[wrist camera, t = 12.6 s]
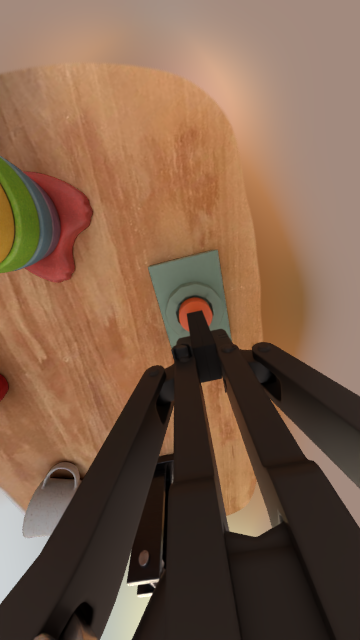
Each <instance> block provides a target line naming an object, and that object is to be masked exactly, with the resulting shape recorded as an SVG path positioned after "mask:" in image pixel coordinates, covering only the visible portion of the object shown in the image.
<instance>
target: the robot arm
mask: <svg viewBox="0 0 360 640" xmlns="http://www.w3.org/2000/svg"><path fill="white" fill-rule="evenodd" d="M187 320H188V326H189V332H190V336H187V337H183V338H179V339H178V340H177V342H176V345H175V346H174V347H173V348H172V350H171V351H172V354H173V358H174V364H173V365H172V366H170V367H168V368H166V369H164V368H163V367H162V366H159V365H157V366H152V367H150V368H149V369H147V370H146V371H145V372H144V374H143V376H142V378H141V379H140V381H139V383H138V385H137V386H136V388H135V390H134V392H133V393H132V395H131V397H130V398H129V400H128V402H127V404H126V405H125V407H124V409H123V411H122V412H121V414H120V416H119V418H118V419H117V421H116V423H115V425H114V426H113V428H112V430H111V432H110V433H109V435H108V437H107V438H106V440H105V442H104V444H103V445H102V447H101V449H100V451H99V452H98V454H97V456H96V458H95V459H94V461H93V463H92V465H91V466H90V468H89V470H88V472H87V473H86V475H85V477H84V478H83V480H82V482H81V484H80V485H79V487H78V489H77V491H76V492H75V494H74V496H73V498H72V499H71V501H70V503H69V505H68V506H67V508H66V510H65V512H64V513H63V515H62V517H61V518H60V520H59V522H58V524H57V525H56V527H55V529H54V531H53V532H52V534H51V536H50V538H49V539H48V541H47V543H46V545H45V546H44V548H43V550H42V552H41V553H40V555H39V556H38V557H37V559H36V560H35V561H34V563H33V564H32V565H31V566H30V567H29V569H28V570H27V571H26V573H25V574H24V575H23V576H22V578H21V579H20V580H19V581H18V583H17V584H16V585H15V586H14V588H13V589H12V590H11V591H10V593H9V594H8V595H7V597H6V598H5V599H4V600H3V601H2V603H1V604H0V640H100V638H101V636H102V634H103V631H104V629H105V626H106V624H107V621H108V619H109V616H110V614H111V611H112V609H113V606H114V604H115V601H116V598H117V595H118V592H119V589H120V586H121V582H122V580H123V576H124V573H125V570H126V566H127V563H128V560H129V556H130V553H131V549H132V546H133V543H134V539H135V536H136V532H137V529H138V526H139V522H140V519H141V515H142V512H143V509H144V505H145V502H146V498H147V495H148V491H149V488H150V485H151V481H152V478H153V474H154V471H155V468H156V464H157V461H158V457H159V454H160V451H161V447H162V444H163V440H164V437H165V434H166V430H167V427H168V423H169V420H170V416H171V413H172V410H173V406H174V470H173V483H172V484H171V485H170V488H169V495H168V523H167V558H166V569H165V571H164V572H163V574H162V576H161V577H160V579H159V581H158V583H157V585H156V587H155V589H154V591H153V593H152V596H151V598H150V600H149V602H148V605H147V607H146V609H145V611H144V614H143V616H142V618H141V620H140V623H139V625H138V627H137V629H136V632H135V634H134V636H133V638H132V640H360V528H359V526H358V525H357V523H356V522H355V520H354V519H353V517H352V516H351V514H350V513H349V511H348V509H347V508H346V506H345V505H344V503H343V502H342V500H341V499H340V497H339V496H338V494H337V493H336V491H335V490H334V488H333V486H332V485H331V483H330V482H329V480H328V479H327V477H326V476H325V474H324V473H323V471H322V470H321V469H320V467H319V466H318V465H317V464H316V463H315V462H314V461H311V460H308V459H307V458H306V457H305V455H304V454H303V452H302V451H301V449H300V447H299V446H298V444H297V442H296V441H295V439H294V438H293V436H292V434H291V433H290V431H289V429H288V428H287V426H286V424H285V423H284V421H283V420H282V418H281V417H280V415H279V413H278V411H277V410H276V408H275V407H274V405H273V403H272V402H271V400H272V401H273V402H274V403H275V404H276V405H277V406H278V407H279V408H280V409H281V410H282V411H283V412H284V413H285V414H286V415H287V416H288V417H289V418H290V419H291V420H292V421H293V422H294V423H295V424H296V425H297V426H298V427H299V428H300V429H301V430H302V431H303V432H304V433H305V434H306V435H307V436H308V437H309V438H310V439H311V440H312V441H313V442H314V443H315V444H316V445H317V446H318V447H319V448H320V449H321V450H322V451H323V452H324V453H325V454H326V455H327V456H328V457H329V458H330V459H331V460H332V461H333V462H334V463H335V464H336V465H337V466H338V467H339V468H340V469H341V470H342V471H343V472H344V473H345V474H346V475H347V476H348V477H349V478H350V479H351V480H352V481H353V482H354V483H355V484H356V485H357V486H358V487H359V488H360V396H358V395H357V394H355V393H353V392H352V391H350V390H348V389H347V388H345V387H343V386H342V385H340V384H338V383H337V382H335V381H333V380H331V379H330V378H328V377H327V376H325V375H323V374H322V373H320V372H318V371H317V370H315V369H313V368H311V367H310V366H308V365H307V364H305V363H303V362H301V361H300V360H298V359H297V358H295V357H293V356H291V355H290V354H288V353H286V352H285V351H283V350H281V349H280V348H278V347H277V346H275V345H273V344H271V343H266V342H261V343H257V344H255V345H253V347H252V350H241V349H239V348H238V346H236V345H234V344H233V343H232V341H231V339H230V338H229V336H228V334H227V333H226V331H225V330H223V329H216V330H212V331H210V328H209V326H208V324H207V321H206V319H205V316H204V314H203V311H202V310H200V311H196V312H191V313H187ZM222 377H223V382H224V388H225V393H226V392H227V395H228V397H229V400H230V403H231V406H232V409H233V412H234V415H235V418H236V421H237V424H238V426H239V429H240V432H241V435H242V438H243V441H244V444H245V447H246V450H247V453H248V456H249V458H250V461H251V464H252V467H253V470H254V473H255V476H256V479H257V482H258V484H259V487H260V490H261V493H262V496H263V499H264V502H265V505H266V508H267V511H268V514H269V517H270V522H271V525H272V529H270V530H268V531H267V532H265V533H263V534H262V535H260V536H258V537H252V536H247V535H243V534H238V533H234V532H229V528H228V524H227V519H226V513H225V508H224V503H223V497H222V492H221V487H220V481H219V476H218V471H217V465H216V460H215V455H214V449H213V444H212V439H211V433H210V428H209V423H208V417H207V412H206V407H205V401H204V396H203V391H202V386H201V383H202V382H207V381H212V380H217V379H222ZM270 399H271V400H270Z"/></svg>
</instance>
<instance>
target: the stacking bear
mask: <svg viewBox="0 0 360 640" xmlns="http://www.w3.org/2000/svg"><path fill="white" fill-rule="evenodd" d="M92 214H93V211H92V209H91V207H90V205H89V201H88V199H87V197H86V196H85V195H84V194H83V193H82V192H81V191H79V190H78V189H76V188H75V187H73V186H71V185H69V184H68V183H66V182H64V181H62V180H59V179H57V178H54V177H51V176H48V175H45V174H41V173H35V172H22V171H21V170H20V169H19V168H17V167H16V166H15V165H13V164H12V163H10V162H9V161H7V160H6V159H4V158H3V157H1V156H0V273H5V272H10V271H16V270H19V269H22V268H25V269H27V270H28V271H30V272H32V273H33V274H35V275H37V276H39V277H41V278H44V279H46V280H49V281H52V282H62V281H63V280H69V279H70V278H71V275H72V273H73V272H74V270H75V265H74V260H73V256H72V248H73V243H74V241H75V238H76V237H77V235H78V234H79V233H80V232H81V231H83V230H84V229H86V228H87V227H88V226H89V224H90V221H91V216H92Z"/></svg>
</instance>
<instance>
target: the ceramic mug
mask: <svg viewBox="0 0 360 640" xmlns="http://www.w3.org/2000/svg"><path fill="white" fill-rule="evenodd" d="M57 469H66V470H68V471H70V472H71V473H72V474H73V476H74V479H55V478H49V477H50V474H51V473H52V472H54V471H55V470H57ZM79 479H80V475H79V470H78V469H77V467H76V466H75V465H73V464H72V463H69V462H61V463H58V464H56V465H55V466H54V467H53V468H52V469H51V470H50V471H49V473H48V474H47V476H46V477H45V480H43V481H42V482H41V483H40V485H39V486H38V488H37V489H36V491H35V492H34V494H33V496H32V498H31V500H30V503H29V505H28V508H27V511H26V514H25V517H24V522H23V529H22V530H23V536H24V537H25V538H32V537H40V536H51V534H52V532H53V531H54V529H55V527H56V525H57V524H58V522H59V520H60V518H61V517H62V515H63V513H64V512H65V510H66V508H67V506H68V505H69V503H70V501H71V499H72V498H73V496H74V494H75V492H76V491H77V489H78V487H79V485H80V484H81V482H82V480H79Z"/></svg>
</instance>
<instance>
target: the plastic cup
mask: <svg viewBox="0 0 360 640" xmlns="http://www.w3.org/2000/svg"><path fill="white" fill-rule="evenodd" d="M8 389H9V388H8V383H7V381H6V379H5V378H4V377H3V376H2V375H1V374H0V401H1V400H2V399H3V398H4V396H5V394H6V393H7V391H8Z"/></svg>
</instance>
